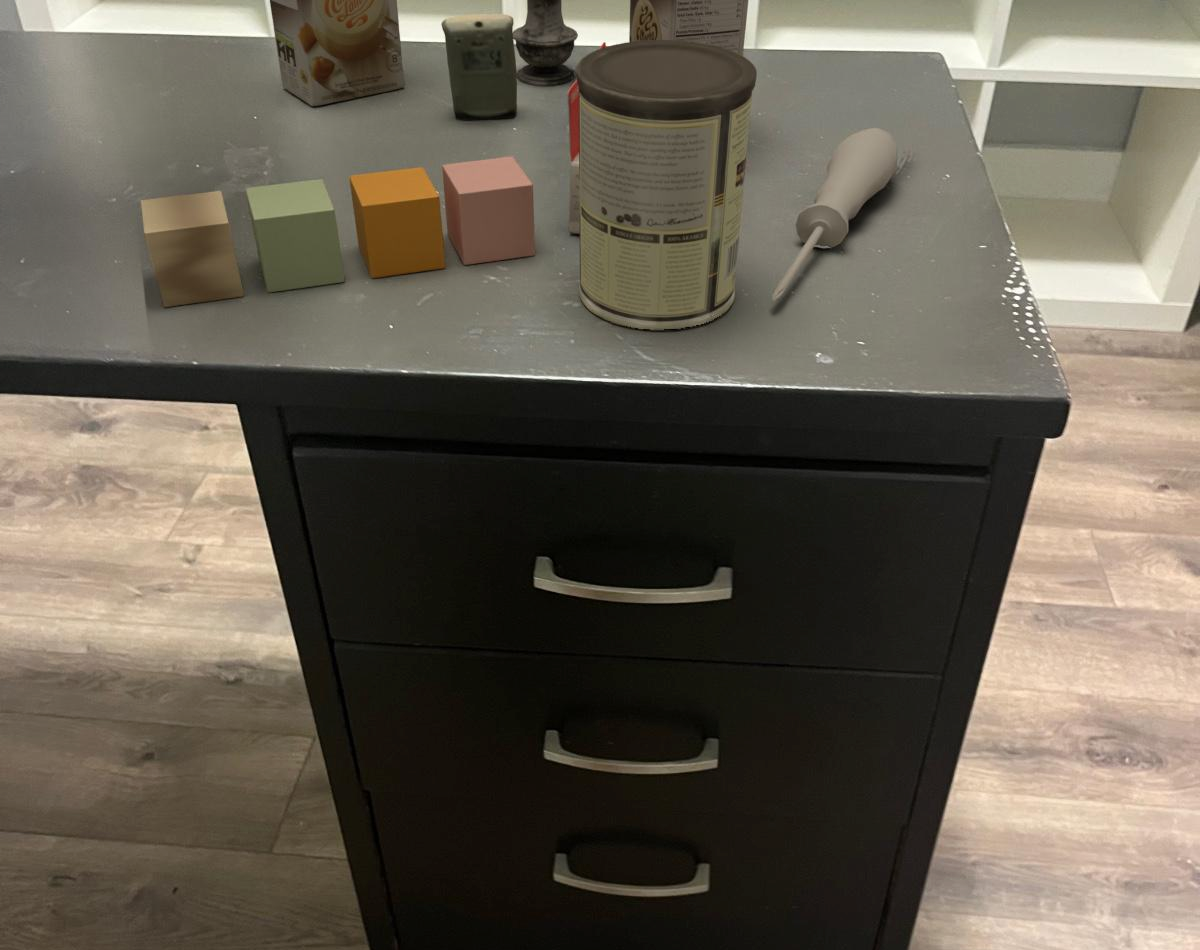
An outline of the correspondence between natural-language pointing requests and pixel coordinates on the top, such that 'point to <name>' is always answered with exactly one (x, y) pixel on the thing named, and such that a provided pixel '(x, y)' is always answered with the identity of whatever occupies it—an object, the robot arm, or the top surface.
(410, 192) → the orange block
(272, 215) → the row block
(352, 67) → the coffee box
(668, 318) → the coffee can
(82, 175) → the top surface
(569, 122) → the ink cartridge box
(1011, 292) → the top surface
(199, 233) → the row block
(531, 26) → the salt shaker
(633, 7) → the coffee box
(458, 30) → the grey upright labelled block
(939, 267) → the top surface
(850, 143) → the screwdriver
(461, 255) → the row block
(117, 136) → the top surface
